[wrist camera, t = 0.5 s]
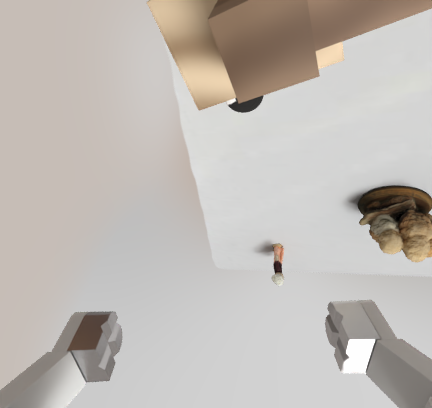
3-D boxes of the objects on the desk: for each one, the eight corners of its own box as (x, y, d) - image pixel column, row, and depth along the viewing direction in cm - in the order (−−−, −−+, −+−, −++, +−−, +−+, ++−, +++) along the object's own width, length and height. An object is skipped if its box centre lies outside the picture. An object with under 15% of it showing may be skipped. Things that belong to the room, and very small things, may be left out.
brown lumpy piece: (345, 215, 74) (360, 271, 62) (363, 181, 66) (385, 239, 54) (416, 223, 73) (445, 282, 61) (444, 189, 64) (484, 250, 53)
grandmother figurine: (286, 253, 89) (288, 290, 80) (274, 254, 90) (275, 291, 81) (281, 238, 84) (283, 276, 75) (268, 240, 85) (268, 277, 77)
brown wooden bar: (218, -1, 22) (207, 19, 18) (500, -139, 16) (583, -158, 12) (242, 73, 26) (238, 103, 22) (479, -16, 20) (536, 2, 16)
